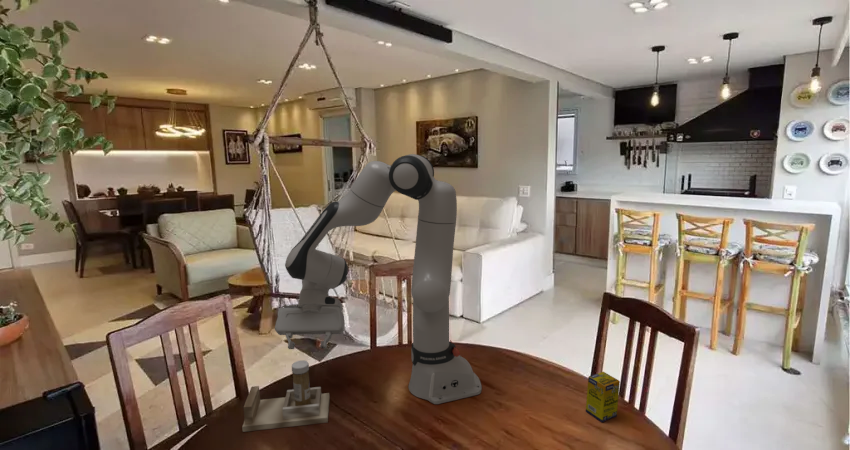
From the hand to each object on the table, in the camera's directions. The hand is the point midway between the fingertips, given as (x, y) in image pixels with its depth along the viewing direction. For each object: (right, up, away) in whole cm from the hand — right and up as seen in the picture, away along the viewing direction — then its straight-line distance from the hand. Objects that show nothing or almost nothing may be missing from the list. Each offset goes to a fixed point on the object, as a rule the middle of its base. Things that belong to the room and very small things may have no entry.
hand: (307, 348), depth 128 cm
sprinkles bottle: (0, -16, -4) cm, 16 cm away
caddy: (-4, -17, -4) cm, 18 cm away
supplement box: (+83, -17, -5) cm, 85 cm away
